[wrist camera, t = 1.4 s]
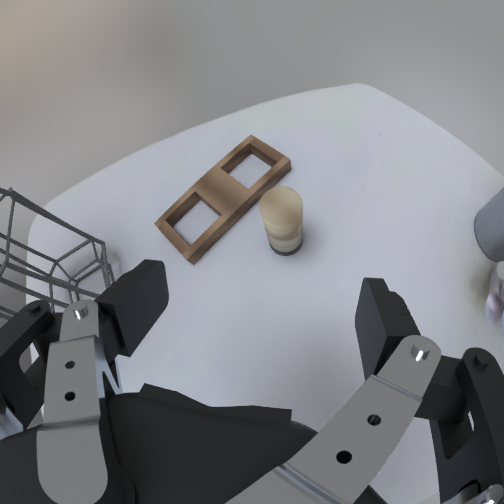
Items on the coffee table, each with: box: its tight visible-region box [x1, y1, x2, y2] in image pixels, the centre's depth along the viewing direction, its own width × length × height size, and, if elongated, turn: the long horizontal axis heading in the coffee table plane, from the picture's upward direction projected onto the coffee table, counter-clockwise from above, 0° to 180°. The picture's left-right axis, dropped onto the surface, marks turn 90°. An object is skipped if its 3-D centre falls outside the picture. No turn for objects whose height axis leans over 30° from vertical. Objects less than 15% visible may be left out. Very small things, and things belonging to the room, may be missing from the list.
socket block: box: [154, 135, 291, 265], centre depth 40 cm, size 20×8×2 cm, turn 135°
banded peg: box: [259, 186, 302, 256], centre depth 33 cm, size 4×4×10 cm
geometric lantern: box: [0, 188, 114, 320], centre depth 24 cm, size 16×16×35 cm
